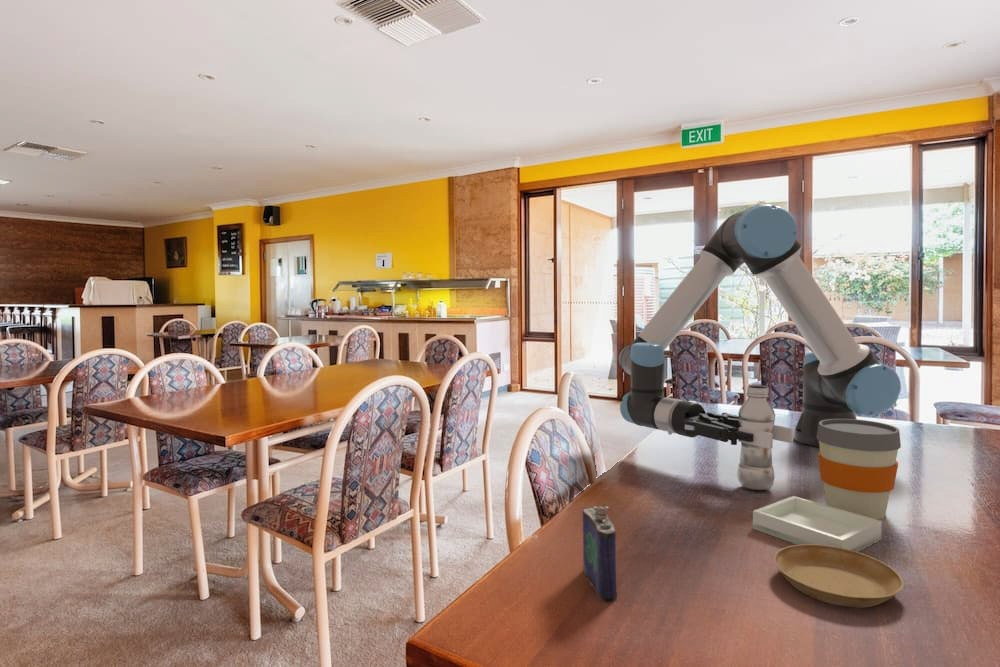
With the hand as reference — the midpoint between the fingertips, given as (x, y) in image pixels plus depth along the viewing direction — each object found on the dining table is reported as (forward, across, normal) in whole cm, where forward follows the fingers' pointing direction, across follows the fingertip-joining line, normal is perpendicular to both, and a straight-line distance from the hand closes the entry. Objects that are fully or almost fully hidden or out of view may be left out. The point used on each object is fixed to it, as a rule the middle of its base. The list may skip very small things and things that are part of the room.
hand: (781, 438), depth 110 cm
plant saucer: (+23, +26, -12) cm, 37 cm away
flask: (+5, +51, -11) cm, 52 cm away
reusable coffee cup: (+12, -4, -11) cm, 17 cm away
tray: (+13, +12, -11) cm, 21 cm away
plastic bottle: (-5, 0, -11) cm, 12 cm away
